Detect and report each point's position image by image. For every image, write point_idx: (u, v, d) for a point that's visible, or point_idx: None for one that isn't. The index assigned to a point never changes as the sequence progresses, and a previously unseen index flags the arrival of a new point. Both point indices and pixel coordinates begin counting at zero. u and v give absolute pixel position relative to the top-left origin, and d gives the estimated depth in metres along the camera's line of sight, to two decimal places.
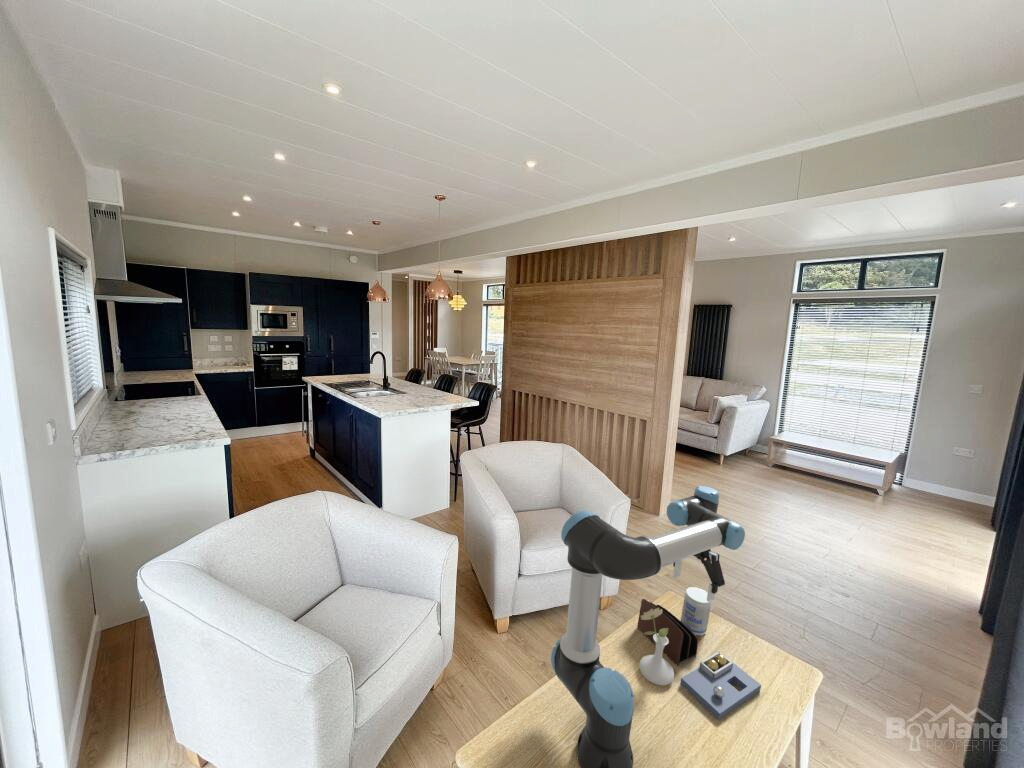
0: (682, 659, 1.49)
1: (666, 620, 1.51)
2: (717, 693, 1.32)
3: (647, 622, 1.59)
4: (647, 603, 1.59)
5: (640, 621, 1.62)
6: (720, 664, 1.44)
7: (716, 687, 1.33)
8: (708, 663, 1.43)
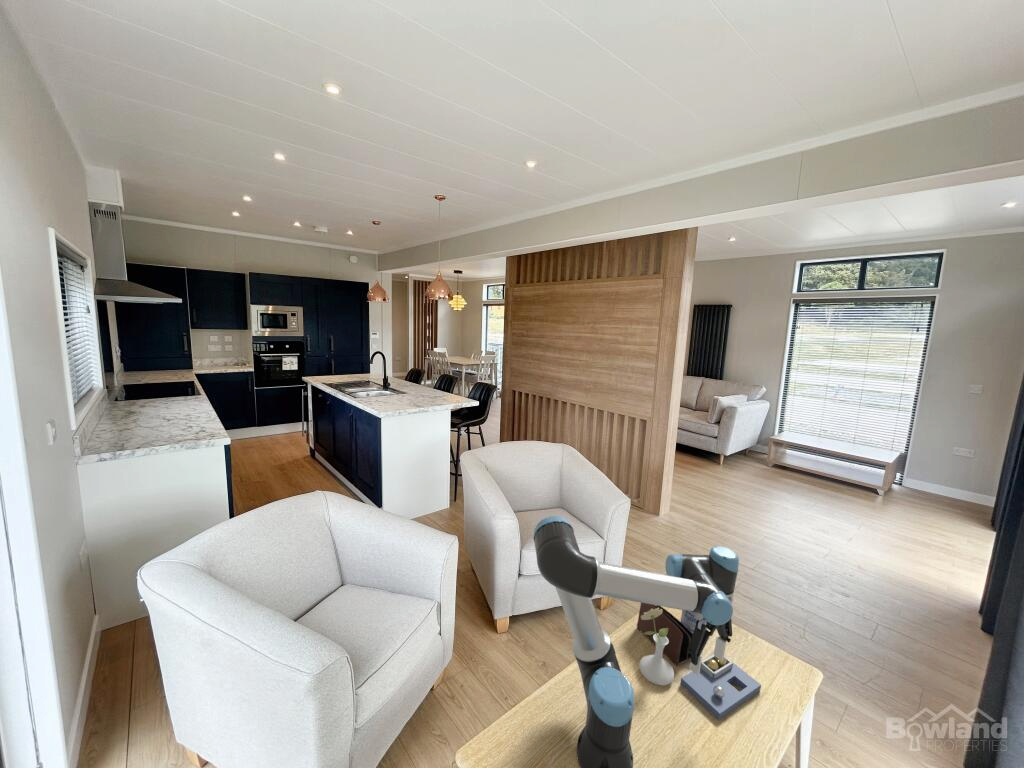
0: (682, 659, 1.49)
1: (666, 620, 1.51)
2: (717, 693, 1.32)
3: (647, 622, 1.59)
4: None
5: (640, 621, 1.62)
6: (720, 664, 1.44)
7: (716, 687, 1.33)
8: (708, 663, 1.43)
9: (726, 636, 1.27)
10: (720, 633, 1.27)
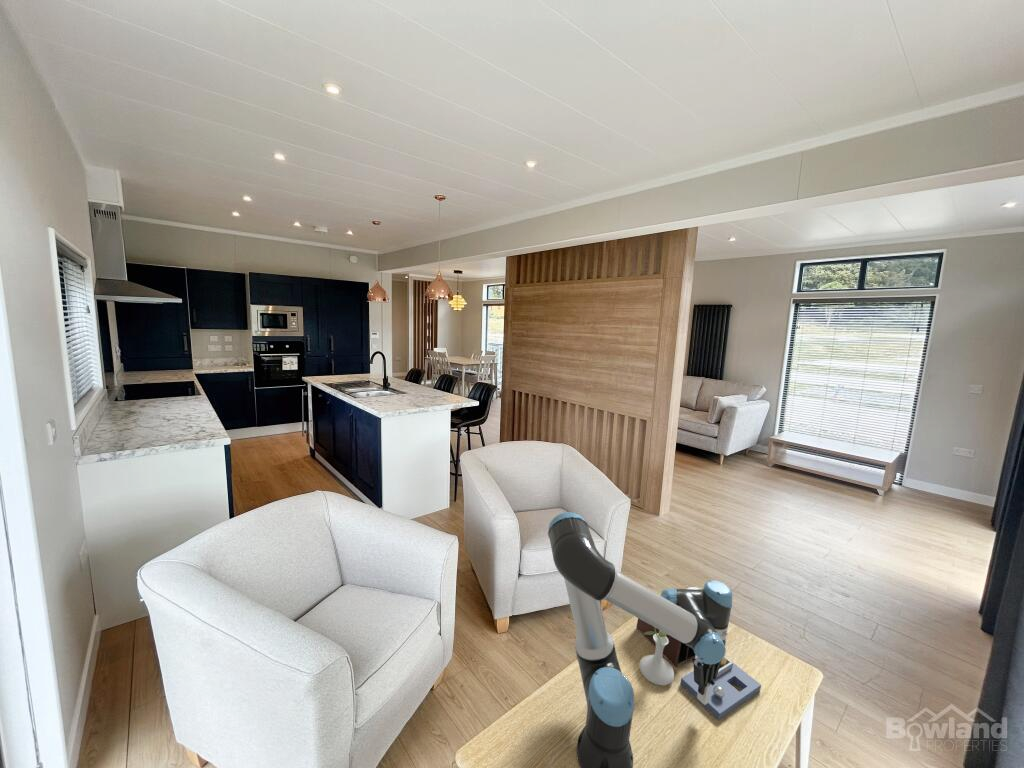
0: (681, 660, 1.48)
1: None
2: (717, 693, 1.32)
3: (646, 623, 1.59)
4: None
5: (639, 622, 1.62)
6: (720, 664, 1.44)
7: (716, 687, 1.33)
8: None
9: (712, 677, 1.27)
10: None
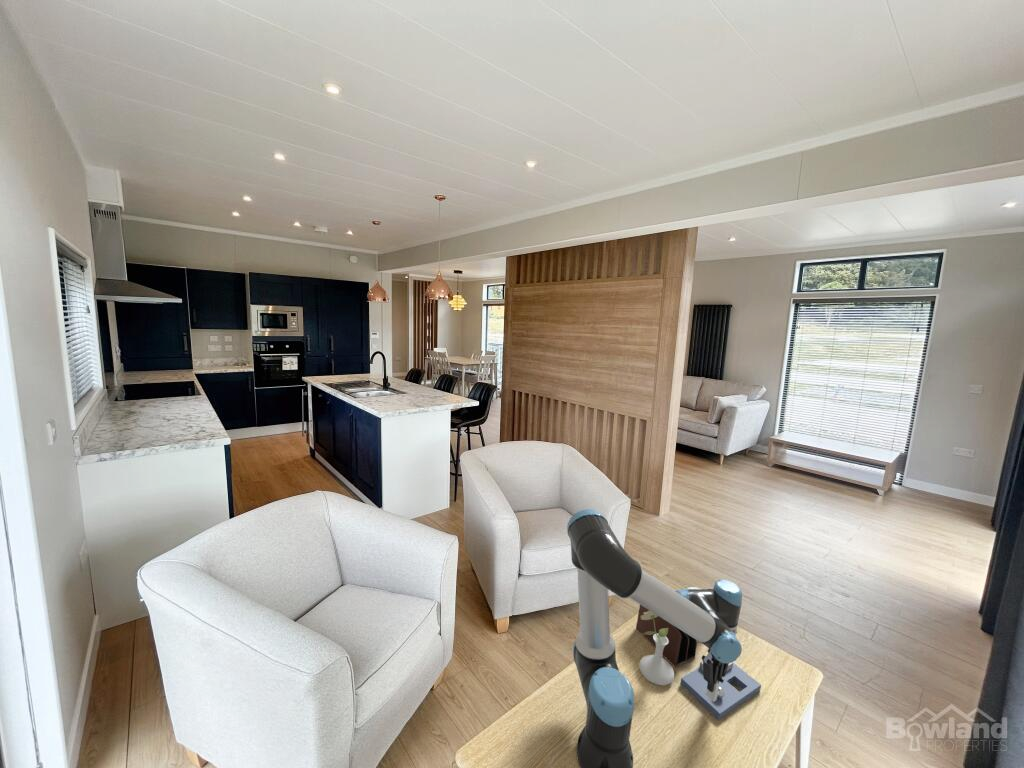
0: (680, 660, 1.48)
1: (664, 621, 1.51)
2: None
3: (646, 623, 1.59)
4: None
5: (639, 622, 1.62)
6: None
7: None
8: None
9: (721, 675, 1.29)
10: None
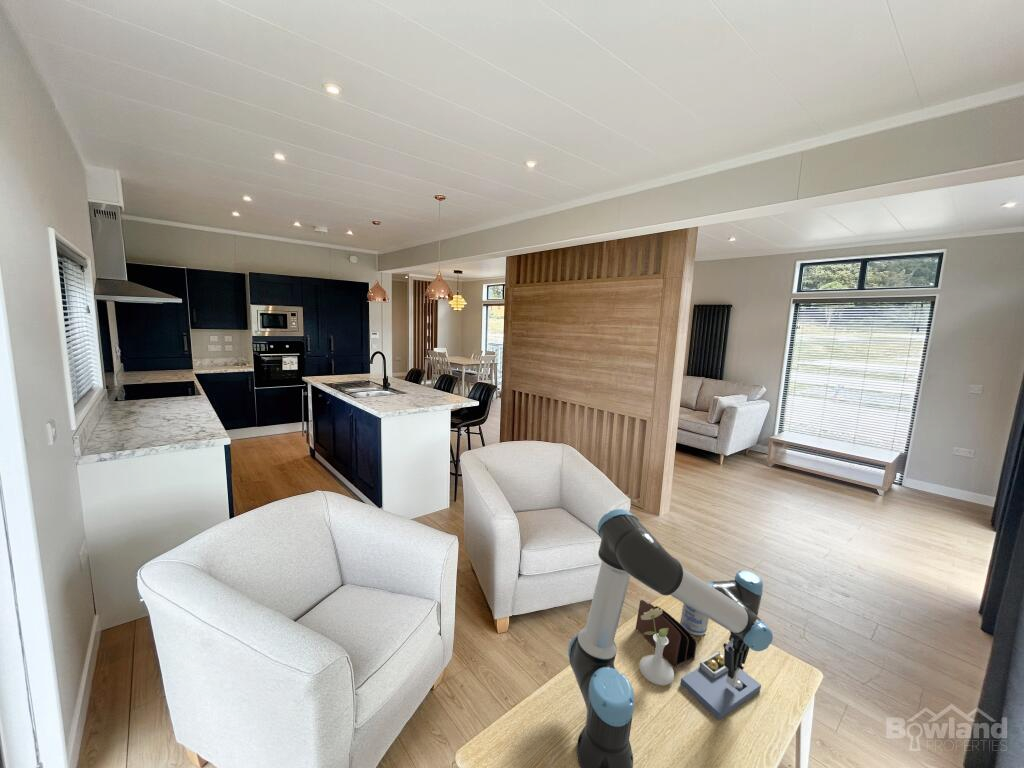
0: (680, 661, 1.48)
1: (664, 621, 1.51)
2: (739, 683, 1.38)
3: (645, 623, 1.59)
4: (645, 604, 1.59)
5: (638, 622, 1.62)
6: (720, 664, 1.44)
7: None
8: (708, 663, 1.43)
9: (741, 662, 1.34)
10: None
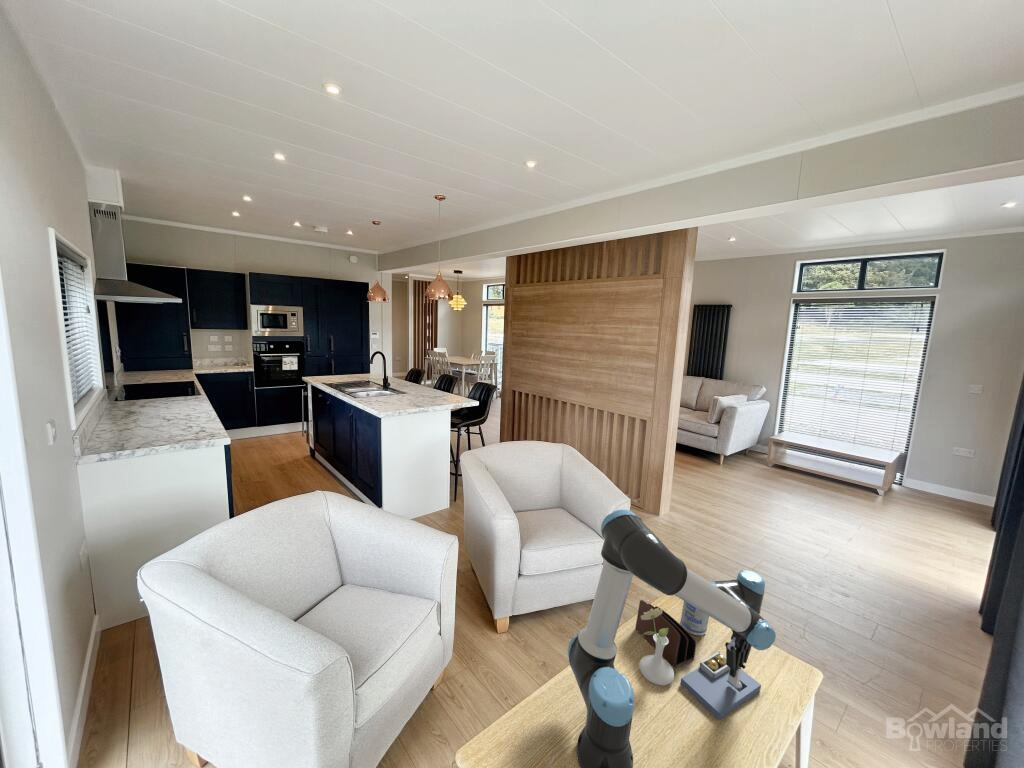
0: (679, 661, 1.48)
1: (663, 622, 1.50)
2: None
3: (645, 623, 1.58)
4: (645, 604, 1.58)
5: (638, 622, 1.62)
6: (720, 664, 1.44)
7: None
8: (708, 663, 1.43)
9: (743, 661, 1.35)
10: None
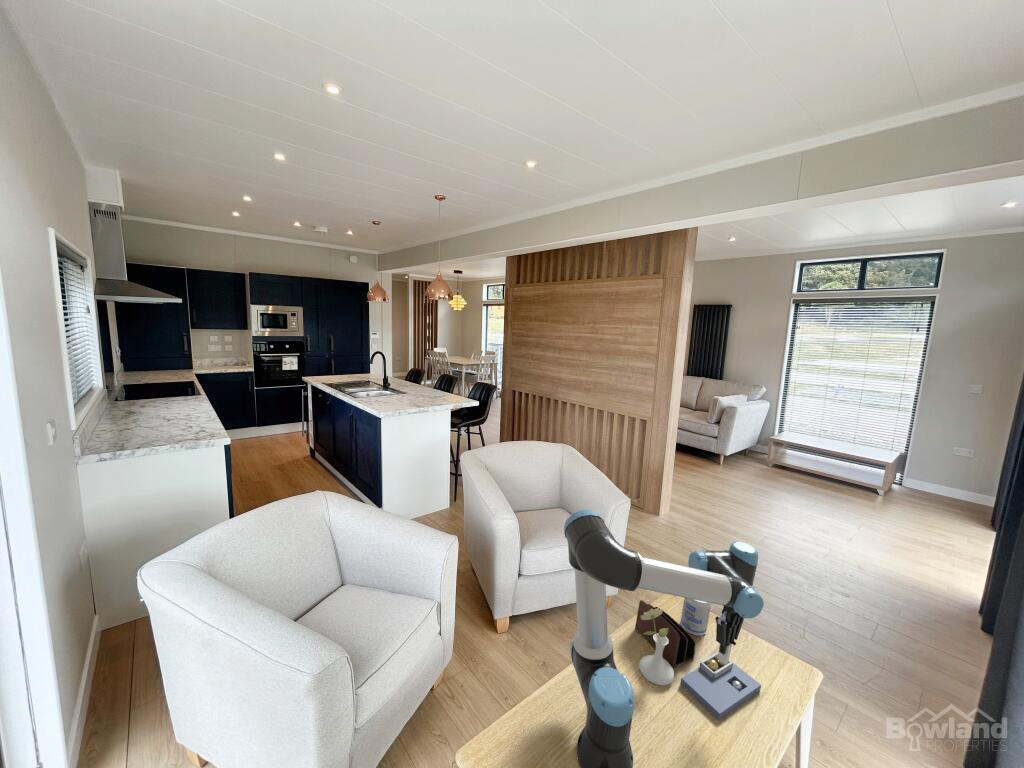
0: (679, 662, 1.47)
1: (663, 622, 1.50)
2: (736, 686, 1.37)
3: (645, 624, 1.58)
4: (645, 605, 1.58)
5: (638, 623, 1.61)
6: (720, 664, 1.44)
7: (735, 681, 1.39)
8: (708, 663, 1.43)
9: (733, 637, 1.29)
10: None
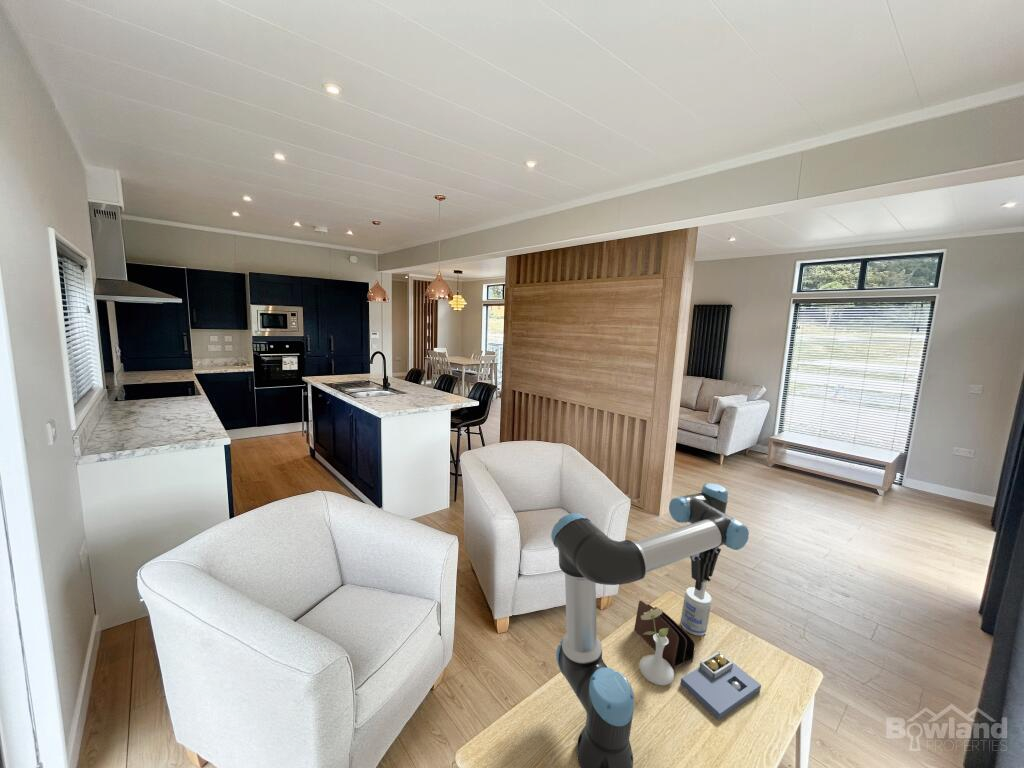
0: (678, 662, 1.47)
1: (662, 623, 1.50)
2: (735, 688, 1.37)
3: (644, 624, 1.58)
4: (644, 605, 1.58)
5: (637, 623, 1.61)
6: (720, 664, 1.44)
7: (733, 682, 1.38)
8: (708, 663, 1.43)
9: (708, 574, 1.37)
10: None
